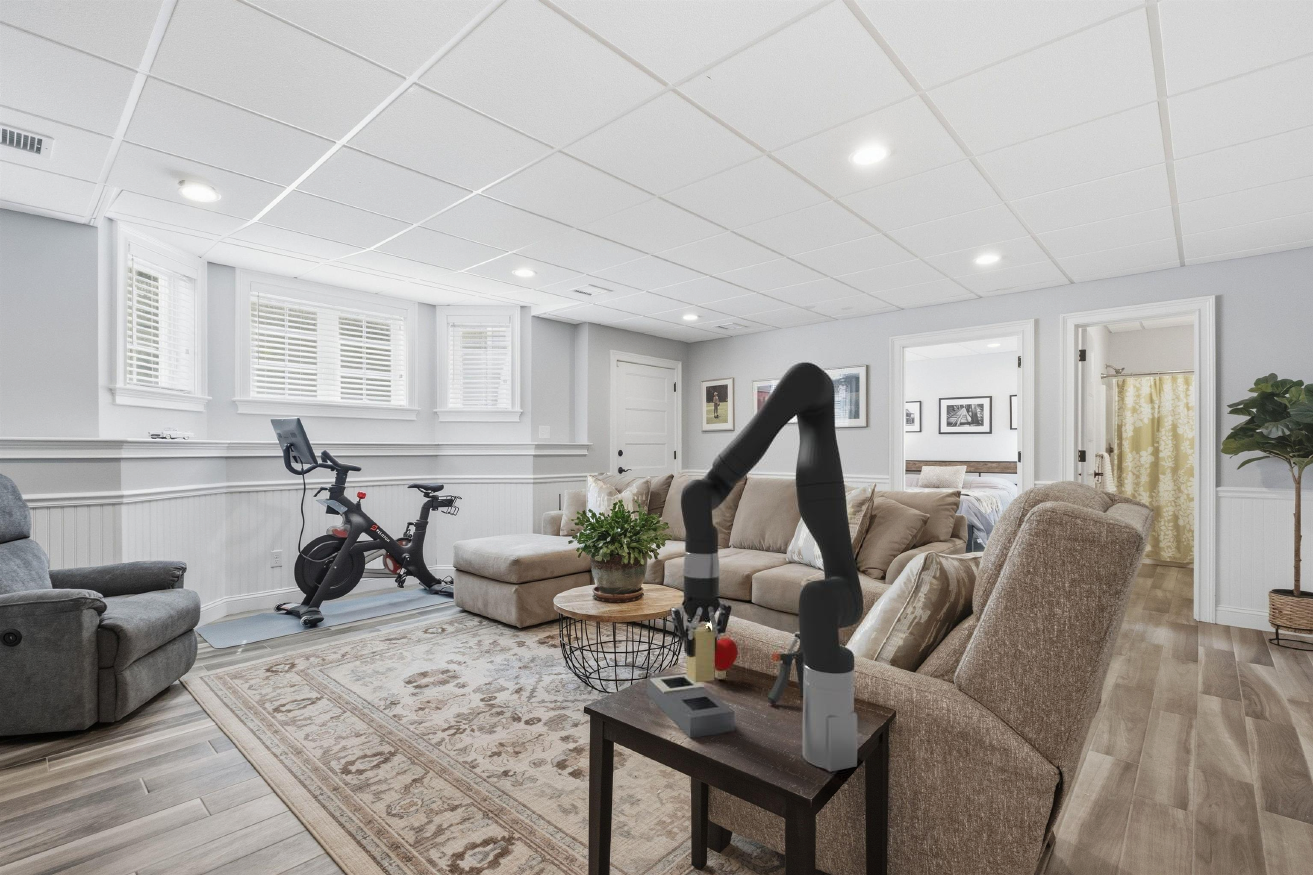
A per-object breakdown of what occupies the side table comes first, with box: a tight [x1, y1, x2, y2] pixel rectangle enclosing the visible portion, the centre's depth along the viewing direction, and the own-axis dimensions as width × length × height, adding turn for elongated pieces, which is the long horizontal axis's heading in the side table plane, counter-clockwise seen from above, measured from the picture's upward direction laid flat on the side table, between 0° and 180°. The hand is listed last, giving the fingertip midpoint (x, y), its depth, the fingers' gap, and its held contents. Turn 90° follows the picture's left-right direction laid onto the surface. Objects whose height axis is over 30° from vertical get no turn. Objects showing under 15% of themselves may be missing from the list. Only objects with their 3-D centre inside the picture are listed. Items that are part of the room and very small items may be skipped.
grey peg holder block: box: [646, 672, 736, 739], centre depth 136 cm, size 24×10×4 cm, turn 22°
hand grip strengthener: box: [766, 632, 804, 706], centre depth 143 cm, size 2×13×15 cm, turn 123°
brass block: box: [685, 626, 715, 683], centre depth 130 cm, size 4×4×10 cm
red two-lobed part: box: [714, 637, 739, 681], centre depth 156 cm, size 9×7×10 cm
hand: (700, 654), depth 130 cm, fingers closed on brass block, 4 cm apart
